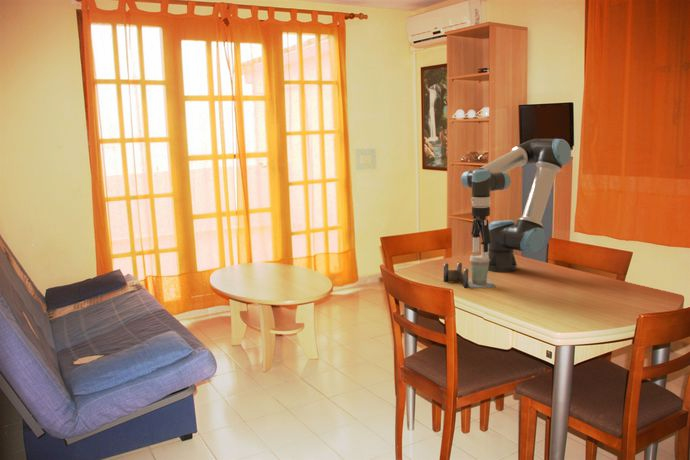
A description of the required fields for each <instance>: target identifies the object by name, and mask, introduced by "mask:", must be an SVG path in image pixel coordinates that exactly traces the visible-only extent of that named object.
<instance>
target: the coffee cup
mask: <svg viewBox="0 0 690 460" xmlns="http://www.w3.org/2000/svg"><path fill="white" fill-rule="evenodd" d="M469 261H470V271H471V280H472V283H473V284H477V285H484V284H486V281H487V279H488V273H489V270H488V267H489V261H490V259H489V256H488V259H482V253H474V254H471V255H470V257H469Z"/></svg>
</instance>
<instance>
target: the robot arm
mask: <svg viewBox="0 0 690 460" xmlns="http://www.w3.org/2000/svg"><path fill="white" fill-rule="evenodd" d="M571 157H572V150H571V146H570V144H569V143H568V141H566V140H565V139H563V138H533V139H530V140H527V141H525V142H523V143H520V144H518V145H516V146H514V147H513V148H512V149H511V150H510V151H509V152H508V153H507V152H506V154H503V155H502V156H500V157H497V158H496V159H494V160H492V161H490V162H488V163H486V164H484V165H483V166H481V167H478V168H477V169H474V170H466V171H464V172H463V173H462V174H461V176H460V182H461V184H462V186H464V188H468V189H471V198H470V202H471V206H472V207H471V216H472V218H473V219H472V220H473V221H472V227H471V236H472V253H480V245H481V254H482V259H488V256H489V259H490V261H489V267H488V271H491V272H496V273H497V272H498V273H506V272H507V273H509V272H515V271H517V270H518V264H517V260H516V256H515V254H514V252H515V251H519V252H523V253H531V254H532V253H536V252H538V251H540V250H541V248H542V247H543V245H544V244H545V241H546V232H545V230H544V225H543V223H542V221H543V217H544V213H545V211H546V208H547V203H548V202H549V197H550V195H551V191H552V188H553V185H554V181H555V178H556V175H557V173H560V172H561V171H562V168H563V166H566V165H567V164H569V162H570V160H571ZM529 164H535V168H537V169H536V172H535V174H534V178H533V182H532V184H531V187H530V190H529V194H528V197H527V200H526V202H525V207H524V210H523V213H522V216H521V217H519V218H517V221H516V222H515V220H514V219H513V220H512V219H505V220H504V219H503V220H496V221H495V220H494V221H491V222H489V220H488V219H486V217H489V216H491V192H495V191H503V190H506V189H508V188H510V186H511V181H512V178H511V176H510V174H509V173H507V172H509V171H511V170H513V169H515V168H517V167H523V166H525V165H529ZM480 238H481V243H480Z"/></svg>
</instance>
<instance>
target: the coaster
mask: <svg viewBox="0 0 690 460" xmlns="http://www.w3.org/2000/svg"><path fill="white" fill-rule="evenodd" d="M468 286H469V287H470V288H469V287H468V288H469V289H486V288H487V289H488V288H497V286H496V285H495V284H494V283H493V282H492V281H490V279H488V278H487V281H486V284H484V285H477V284H473V283H472V279H468Z"/></svg>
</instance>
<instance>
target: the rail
mask: <svg viewBox="0 0 690 460" xmlns="http://www.w3.org/2000/svg"><path fill="white" fill-rule="evenodd" d="M456 265H457V266H456V269H449V263H446V262H445V263H443V282H444V283H448V281H453V282H458V281H459V282H460V283H461V284H462V285H463V286H462V285H461V286H462V287H464V289H468V288H469V287H468V280H469V268H463V263H462V262H457V264H456ZM460 283H459V284H460Z"/></svg>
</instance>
